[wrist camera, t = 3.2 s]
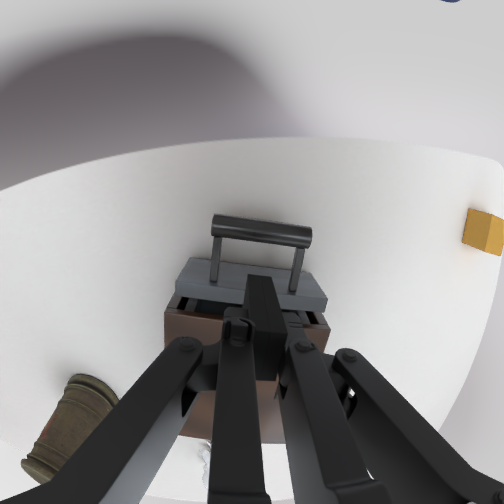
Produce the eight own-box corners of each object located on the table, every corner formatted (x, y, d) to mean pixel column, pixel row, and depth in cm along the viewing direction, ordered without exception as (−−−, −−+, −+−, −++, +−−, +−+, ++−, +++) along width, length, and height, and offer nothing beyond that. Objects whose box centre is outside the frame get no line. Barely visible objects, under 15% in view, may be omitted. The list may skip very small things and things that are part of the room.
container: (110, 378, 30) (58, 481, 12) (128, 419, 32) (96, 512, 15) (61, 368, 29) (4, 451, 12) (82, 409, 32) (42, 488, 15)
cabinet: (183, 275, 26) (163, 311, 19) (309, 290, 27) (331, 329, 20) (180, 388, 30) (170, 433, 23) (279, 398, 31) (287, 443, 24)
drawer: (194, 203, 23) (180, 211, 18) (321, 221, 24) (343, 234, 19) (184, 375, 29) (175, 411, 23) (281, 385, 29) (287, 421, 24)
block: (468, 208, 25) (492, 214, 21) (486, 215, 25) (508, 222, 21) (461, 242, 26) (484, 251, 22) (479, 247, 27) (500, 256, 22)
